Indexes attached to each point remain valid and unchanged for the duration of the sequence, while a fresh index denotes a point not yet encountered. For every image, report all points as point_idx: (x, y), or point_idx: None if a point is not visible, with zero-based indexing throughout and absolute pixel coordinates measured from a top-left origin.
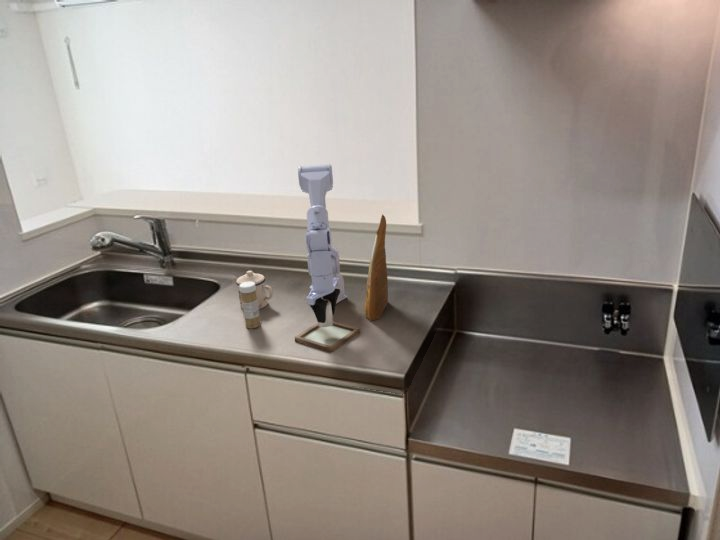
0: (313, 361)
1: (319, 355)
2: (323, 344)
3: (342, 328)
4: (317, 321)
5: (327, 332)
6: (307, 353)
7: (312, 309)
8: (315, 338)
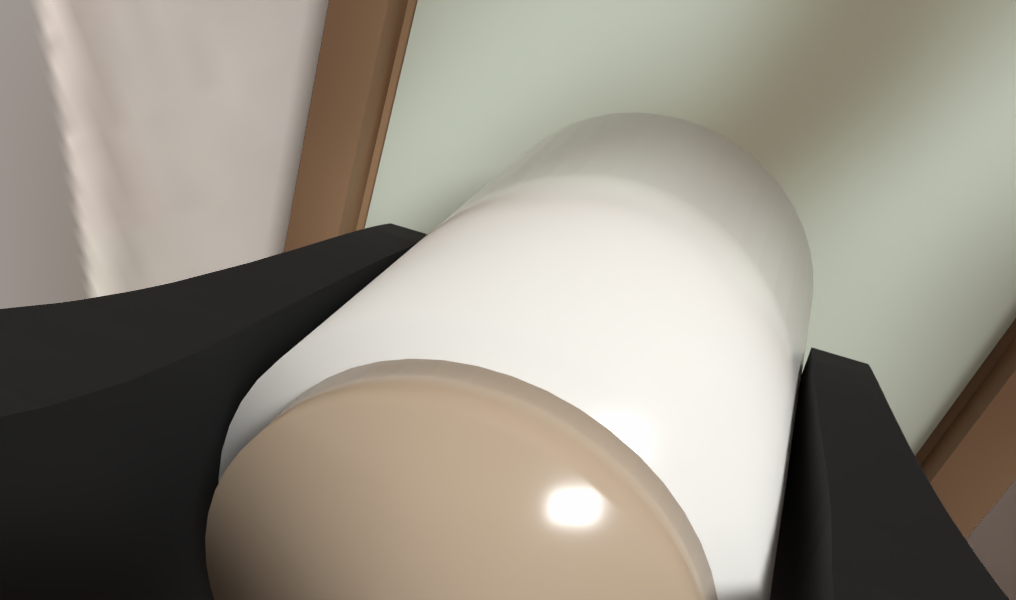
0: (75, 164)
1: (201, 199)
2: (327, 237)
3: (958, 393)
4: (516, 161)
5: (786, 173)
6: (184, 25)
7: (66, 307)
8: (541, 23)
